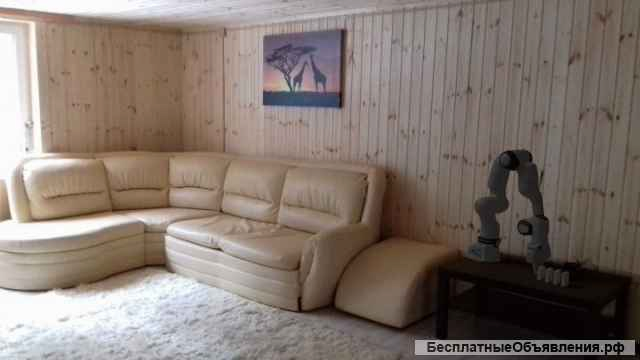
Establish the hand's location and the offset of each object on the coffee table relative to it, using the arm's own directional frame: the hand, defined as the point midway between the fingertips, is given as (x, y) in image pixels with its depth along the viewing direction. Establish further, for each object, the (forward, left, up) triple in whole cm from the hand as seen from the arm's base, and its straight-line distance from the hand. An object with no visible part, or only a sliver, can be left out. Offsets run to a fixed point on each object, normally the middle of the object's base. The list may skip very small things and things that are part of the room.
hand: (537, 268), depth 324 cm
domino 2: (+7, -9, -3) cm, 12 cm away
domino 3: (+12, -9, -3) cm, 15 cm away
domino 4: (+16, -9, -3) cm, 19 cm away
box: (+14, +11, -3) cm, 18 cm away
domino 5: (+21, -9, -3) cm, 23 cm away
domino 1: (0, 0, -3) cm, 3 cm away
